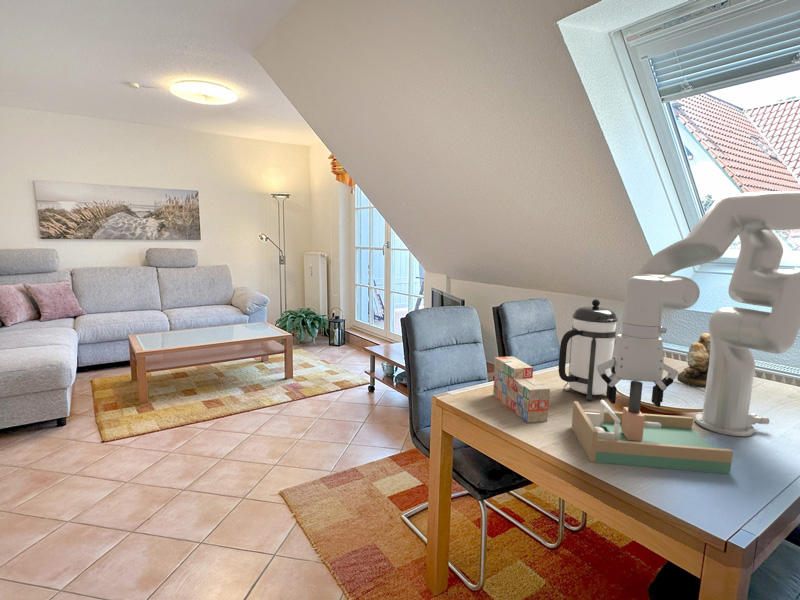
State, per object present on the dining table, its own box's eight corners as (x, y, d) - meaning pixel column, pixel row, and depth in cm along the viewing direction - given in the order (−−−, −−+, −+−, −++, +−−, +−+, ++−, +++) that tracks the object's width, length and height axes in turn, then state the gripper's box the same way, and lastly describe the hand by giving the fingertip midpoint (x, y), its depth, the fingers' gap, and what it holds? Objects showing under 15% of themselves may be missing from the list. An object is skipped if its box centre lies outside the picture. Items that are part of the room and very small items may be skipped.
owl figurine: (685, 371, 166) (691, 326, 163) (723, 379, 158) (730, 332, 155) (672, 381, 153) (678, 333, 151) (713, 390, 145) (720, 339, 143)
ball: (582, 432, 108) (596, 442, 108) (587, 440, 104) (601, 450, 104) (593, 420, 107) (607, 430, 107) (598, 427, 103) (612, 437, 103)
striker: (655, 433, 106) (661, 380, 104) (664, 442, 101) (670, 388, 99) (621, 430, 107) (626, 378, 105) (628, 440, 102) (633, 385, 100)
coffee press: (562, 382, 151) (568, 294, 146) (614, 390, 144) (623, 298, 139) (556, 398, 135) (563, 301, 131) (614, 408, 128) (623, 305, 124)
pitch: (688, 435, 111) (692, 401, 110) (730, 473, 94) (735, 433, 92) (571, 426, 115) (574, 393, 114) (590, 461, 98) (593, 422, 96)
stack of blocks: (548, 421, 119) (551, 377, 117) (526, 423, 117) (529, 378, 116) (511, 393, 139) (513, 355, 138) (492, 394, 138) (494, 356, 136)
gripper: (674, 329, 103) (666, 400, 106) (595, 326, 106) (589, 394, 108) (689, 336, 96) (681, 412, 98) (605, 332, 98) (598, 406, 101)
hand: (633, 403), depth 103 cm, fingers open, 9 cm apart
